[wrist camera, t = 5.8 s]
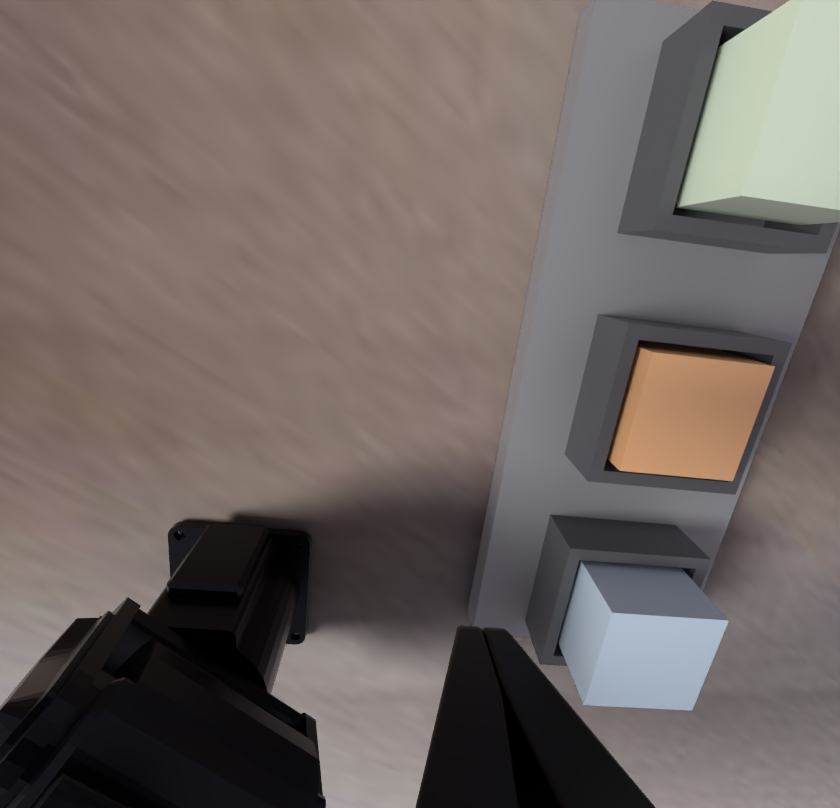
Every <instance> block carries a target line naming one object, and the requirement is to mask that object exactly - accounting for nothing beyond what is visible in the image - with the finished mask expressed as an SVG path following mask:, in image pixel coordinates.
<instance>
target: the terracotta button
mask: <svg viewBox="0 0 840 808" xmlns="http://www.w3.org/2000/svg"><path fill="white" fill-rule="evenodd" d="M774 368H775V366H772V365H769V364H765V363H762V362H759V361H755V360H752V359H748V358H745V357H741V356H738V355H735V354H731V353H728V352H724V351H721V350H718V349H710V348H702V347H693V346H685V345H676V344H667V343H659V342H650V341H642V340H639V341H638V344H637V348H636V352H635V356H634V359H633V363H632V367H631V370H630V374H629V378H628V381H627V385H626V389H625V393H624V396H623V400H622V404H621V407H620V411H619V415H618V419H617V422H616V426H615V430H614V433H613V437H612V441H611V444H610V448H609V452H608V456H607V459H608V460H609V461H610V462H611V463H612V464H613V465H614V466H615V467H616V468H617V469H618V470H619V471H628V472H638V473H649V474H660V475H671V476H682V477H693V478H703V479H714V480H725V481H733V479H734V477H735V474H736V471H737V469H738V466H739V463H740V461H741V458H742V455H743V452H744V450H745V447H746V444H747V442H748V439H749V436H750V433H751V431H752V428H753V425H754V423H755V420H756V417H757V415H758V412H759V409H760V406H761V404H762V401H763V398H764V396H765V393H766V390H767V387H768V385H769V382H770V379H771V377H772V374H773V371H774Z"/></svg>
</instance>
